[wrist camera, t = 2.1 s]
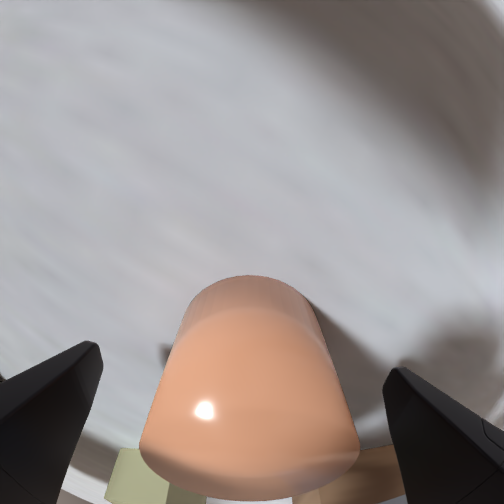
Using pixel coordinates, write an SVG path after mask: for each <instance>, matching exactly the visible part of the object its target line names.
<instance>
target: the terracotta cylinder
mask: <svg viewBox="0 0 504 504" xmlns="http://www.w3.org/2000/svg"><path fill="white" fill-rule="evenodd" d="M139 450H140V454H141V456H142V458H143V460H144V462H145V463H146V464H147V465H148V467H149V468H150V469H151V470H152V471H154V472H155V473H156V474H157V475H159V476H160V477H161V478H163V479H164V480H166V481H168V482H169V483H171V484H173V485H175V486H177V487H180V488H182V489H185V490H187V491H190V492H193V493H196V494H200V495H203V496H207V497H212V498H217V499H224V500H233V501H267V500H276V499H283V498H288V497H293V496H297V495H301V494H304V493H307V492H310V491H313V490H316V489H318V488H320V487H323V486H325V485H327V484H329V483H330V482H332V481H334V480H336V479H337V478H339V477H340V476H341V475H343V474H344V473H345V472H346V471H348V470H349V468H350V467H351V466H352V465H353V464H354V463H355V461H356V460H357V458H358V455H359V453H360V442H359V438H358V435H357V432H356V429H355V426H354V423H353V420H352V417H351V414H350V411H349V408H348V405H347V402H346V399H345V396H344V393H343V390H342V387H341V384H340V382H339V379H338V376H337V373H336V370H335V367H334V364H333V362H332V359H331V356H330V353H329V351H328V348H327V345H326V342H325V340H324V337H323V334H322V331H321V329H320V326H319V323H318V321H317V318H316V315H315V313H314V311H313V309H312V307H311V305H310V304H309V302H308V301H307V300H306V298H305V297H304V296H303V295H302V294H301V293H299V292H298V291H297V290H296V289H294V288H293V287H291V286H289V285H288V284H286V283H283V282H281V281H279V280H276V279H272V278H269V277H263V276H253V275H245V276H236V277H231V278H227V279H224V280H221V281H218V282H216V283H214V284H212V285H210V286H208V287H207V288H205V289H204V290H202V291H201V292H200V293H199V294H198V295H197V296H196V297H195V298H194V299H193V300H192V301H191V303H190V304H189V306H188V308H187V310H186V312H185V314H184V317H183V320H182V322H181V325H180V327H179V330H178V333H177V335H176V338H175V341H174V344H173V346H172V349H171V352H170V354H169V357H168V360H167V363H166V366H165V368H164V371H163V374H162V377H161V380H160V382H159V385H158V388H157V391H156V394H155V397H154V400H153V403H152V406H151V409H150V412H149V415H148V418H147V421H146V424H145V427H144V430H143V433H142V436H141V439H140V442H139Z"/></svg>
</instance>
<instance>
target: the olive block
mask: <svg viewBox="0 0 504 504" xmlns="http://www.w3.org/2000/svg"><path fill="white" fill-rule="evenodd" d="M104 499H106V500H107V501H109V502H111V503H112V504H206V496H203V495H200V494H196V493H193V492H190V491H187V490H185V489H182V488H180V487H177V486H175V485H173V484H171V483H169V482H168V481H166V480H164V479H163V478H161V477H160V476H159V475H157V474H156V473H155V472H154V471H152V470H151V469H150V468H149V467H148V465H147V464H146V463H145V462H144V460H143V458H142V456H141V454H140V450H139V449H129V448H121V449H120V451H119V454H118V457H117V460H116V463H115V466H114V469H113V472H112V475H111V478H110V481H109V484H108V487H107V490H106V493H105V496H104Z"/></svg>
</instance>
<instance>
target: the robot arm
mask: <svg viewBox="0 0 504 504" xmlns="http://www.w3.org/2000/svg"><path fill="white" fill-rule="evenodd" d="M102 372H103V360H102V357H101V353H100V348H99V346H98V344H97V343H94V342H91V341H83V342H81V343H79V344H77V345H75V346H73V347H71V348H70V349H68V350H66V351H64V352H62V353H60V354H58V355H56V356H54V357H52V358H50V359H48V360H46V361H44V362H42V363H40V364H38V365H36V366H34V367H32V368H30V369H28V370H26V371H24V372H22V373H20V374H18V375H16V376H14V377H12V378H10V379H8V380H6V381H4V382H2V383H0V504H56V502H57V499H58V496H59V493H60V490H61V487H62V484H63V481H64V478H65V475H66V472H67V469H68V466H69V463H70V461H71V458H72V455H73V453H74V450H75V447H76V445H77V442H78V439H79V437H80V434H81V432H82V429H83V427H84V425H85V422H86V420H87V417H88V415H89V412H90V410H91V407H92V404H93V400H94V397H95V394H96V390H97V387H98V384H99V381H100V378H101V375H102ZM382 393H383V398H384V403H385V409H386V414H387V420H388V425H389V430H390V434H391V438H392V442H393V445H394V449H395V453H396V457H397V460H398V464H399V468H400V472H401V477H402V481H403V485H404V490H405V494H406V499H407V504H504V431H502V430H501V429H499V428H497V427H496V426H494V425H492V424H491V423H489V422H488V421H486V420H484V419H483V418H481V417H480V416H478V415H477V414H475V413H474V412H472V411H471V410H469V409H468V408H466V407H465V406H463V405H461V404H460V403H458V402H457V401H455V400H454V399H452V398H451V397H449V396H448V395H446V394H445V393H443V392H442V391H440V390H439V389H437V388H436V387H434V386H433V385H431V384H430V383H428V382H427V381H425V380H424V379H422V378H421V377H419V376H418V375H416V374H415V373H413V372H412V371H410V370H409V369H407V368H406V367H395V368H393V369H392V370H391V371H390V373H389V375H388V377H387V379H386V381H385V383H384V385H383V389H382Z"/></svg>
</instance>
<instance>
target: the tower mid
mask: <svg viewBox="0 0 504 504" xmlns="http://www.w3.org/2000/svg"><path fill="white" fill-rule="evenodd" d="M377 504H407V499H406V494H405V495H402V496H399V497H396V498H393V499H390V500H387V501H384V502H381V503H377Z"/></svg>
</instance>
